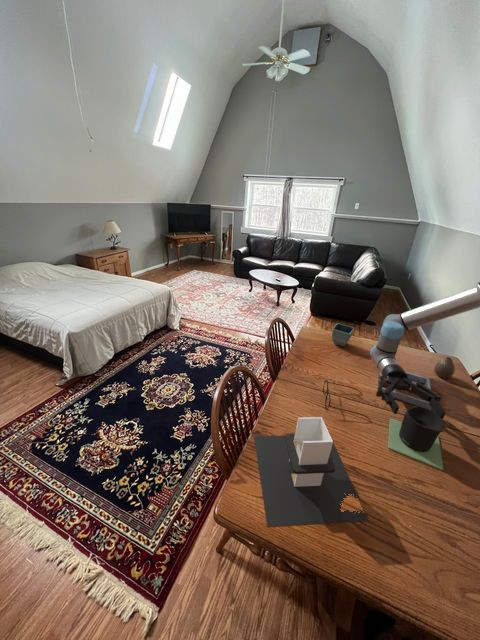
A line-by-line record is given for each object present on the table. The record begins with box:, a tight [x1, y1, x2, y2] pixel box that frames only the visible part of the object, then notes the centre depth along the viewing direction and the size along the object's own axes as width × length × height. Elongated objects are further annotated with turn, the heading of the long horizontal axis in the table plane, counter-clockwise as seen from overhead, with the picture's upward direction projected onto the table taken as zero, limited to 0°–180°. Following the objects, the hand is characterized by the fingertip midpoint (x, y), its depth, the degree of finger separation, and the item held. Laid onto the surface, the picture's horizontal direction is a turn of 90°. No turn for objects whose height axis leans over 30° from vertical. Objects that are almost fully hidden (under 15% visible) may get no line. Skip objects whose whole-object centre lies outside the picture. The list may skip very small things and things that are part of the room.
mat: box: [387, 417, 444, 471], centre depth 84 cm, size 14×14×1 cm
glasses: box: [322, 379, 371, 421], centre depth 98 cm, size 14×15×5 cm
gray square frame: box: [376, 371, 432, 411], centre depth 108 cm, size 18×18×2 cm
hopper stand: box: [253, 416, 370, 528], centre depth 70 cm, size 25×24×16 cm
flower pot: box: [331, 323, 355, 347], centre depth 137 cm, size 9×9×9 cm
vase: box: [433, 356, 456, 379], centre depth 115 cm, size 7×7×9 cm
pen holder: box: [399, 405, 444, 452], centre depth 82 cm, size 9×9×10 cm
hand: (419, 413), depth 83 cm, fingers open, 13 cm apart
